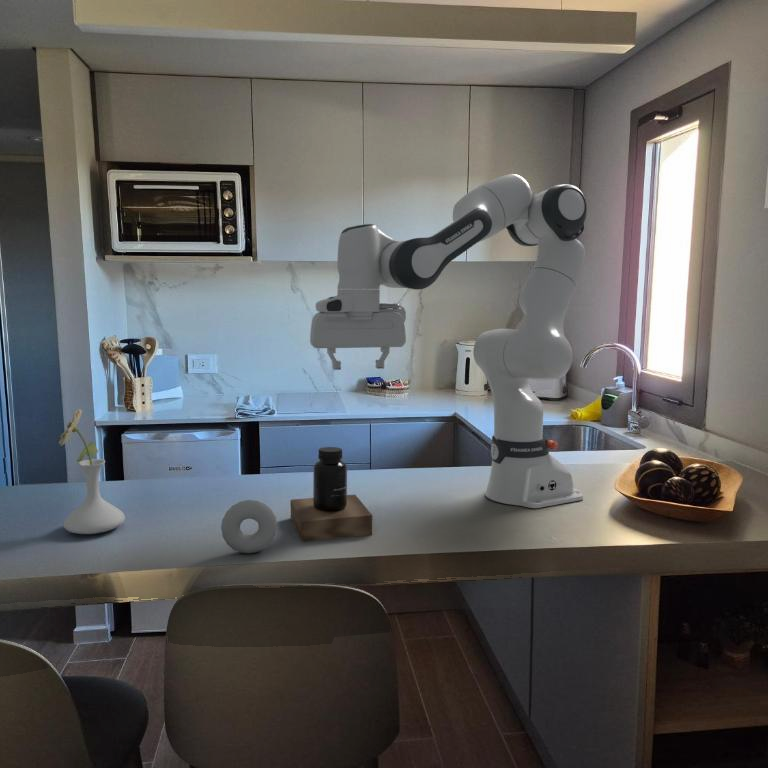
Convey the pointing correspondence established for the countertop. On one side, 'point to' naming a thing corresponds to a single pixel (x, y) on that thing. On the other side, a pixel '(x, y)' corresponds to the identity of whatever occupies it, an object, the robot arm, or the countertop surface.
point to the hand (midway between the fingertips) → (358, 369)
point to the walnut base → (330, 520)
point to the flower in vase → (90, 492)
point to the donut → (249, 511)
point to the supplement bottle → (330, 480)
